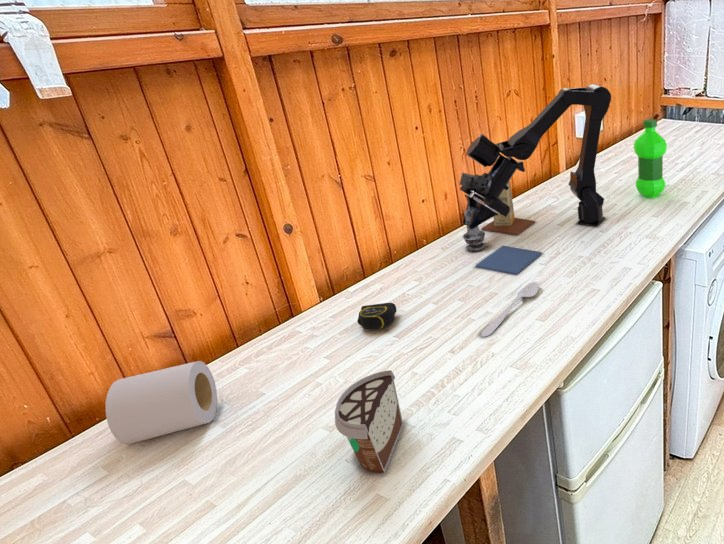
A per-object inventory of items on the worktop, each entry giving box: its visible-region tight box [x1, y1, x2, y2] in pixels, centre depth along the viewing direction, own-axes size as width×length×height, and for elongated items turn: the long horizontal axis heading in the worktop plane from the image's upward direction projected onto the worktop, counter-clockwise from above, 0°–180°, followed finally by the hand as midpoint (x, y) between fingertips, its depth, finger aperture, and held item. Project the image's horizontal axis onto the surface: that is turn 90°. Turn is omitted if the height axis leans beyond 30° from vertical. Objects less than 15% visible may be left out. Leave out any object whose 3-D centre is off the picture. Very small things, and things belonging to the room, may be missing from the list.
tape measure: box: [357, 302, 397, 331], centre depth 108 cm, size 7×7×4 cm
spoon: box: [480, 281, 540, 338], centre depth 111 cm, size 4×21×2 cm, turn 157°
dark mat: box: [481, 217, 536, 236], centre depth 154 cm, size 12×10×1 cm
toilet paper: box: [105, 360, 218, 445], centre depth 82 cm, size 10×10×10 cm
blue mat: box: [475, 245, 542, 276], centre depth 133 cm, size 12×12×1 cm
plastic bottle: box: [633, 118, 668, 199], centre depth 169 cm, size 10×10×25 cm
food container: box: [334, 369, 404, 474], centre depth 76 cm, size 12×6×10 cm, turn 5°
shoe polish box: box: [492, 180, 516, 226], centre depth 153 cm, size 5×5×12 cm
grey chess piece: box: [462, 206, 487, 252], centre depth 138 cm, size 6×6×12 cm
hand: (467, 226), depth 137 cm, fingers closed on grey chess piece, 3 cm apart
